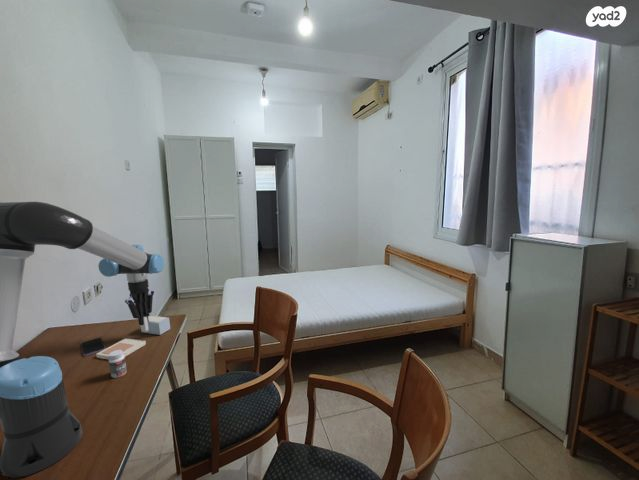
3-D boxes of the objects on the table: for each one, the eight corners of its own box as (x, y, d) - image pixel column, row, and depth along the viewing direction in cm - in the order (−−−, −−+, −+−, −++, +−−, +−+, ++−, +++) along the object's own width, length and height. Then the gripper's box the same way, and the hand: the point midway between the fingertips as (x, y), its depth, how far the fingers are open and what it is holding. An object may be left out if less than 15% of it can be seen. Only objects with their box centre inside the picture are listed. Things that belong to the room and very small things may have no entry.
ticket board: (117, 361, 113) (116, 357, 112) (96, 357, 116) (96, 353, 115) (145, 344, 125) (145, 340, 124) (126, 341, 128) (125, 337, 128)
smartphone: (101, 336, 132) (105, 348, 121) (101, 339, 132) (105, 350, 121) (80, 342, 127) (83, 355, 116) (81, 345, 127) (83, 357, 116)
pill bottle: (119, 378, 102) (115, 357, 100) (107, 377, 103) (104, 355, 101) (130, 370, 106) (126, 349, 105) (119, 369, 107) (115, 348, 106)
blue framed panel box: (160, 334, 132) (158, 323, 131) (141, 332, 135) (139, 320, 134) (170, 328, 138) (168, 317, 137) (152, 326, 141) (150, 315, 140)
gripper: (130, 285, 119) (138, 338, 123) (156, 276, 132) (163, 324, 136) (117, 284, 122) (125, 336, 125) (143, 275, 134) (150, 323, 138)
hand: (145, 330), depth 131 cm, fingers closed
